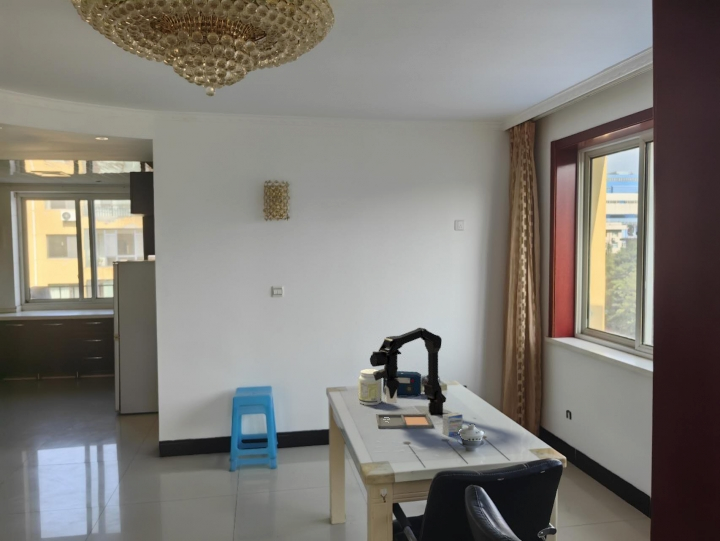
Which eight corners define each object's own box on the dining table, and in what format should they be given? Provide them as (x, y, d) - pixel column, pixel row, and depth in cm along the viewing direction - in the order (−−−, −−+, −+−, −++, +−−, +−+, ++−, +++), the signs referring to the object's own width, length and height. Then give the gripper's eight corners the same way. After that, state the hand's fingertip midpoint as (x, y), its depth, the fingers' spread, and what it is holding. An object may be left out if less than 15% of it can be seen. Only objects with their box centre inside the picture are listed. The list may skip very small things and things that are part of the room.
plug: (395, 400, 250) (395, 384, 249) (396, 403, 246) (396, 386, 245) (384, 400, 249) (384, 384, 249) (384, 403, 245) (384, 386, 245)
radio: (382, 395, 295) (383, 359, 294) (384, 391, 303) (384, 356, 303) (420, 397, 291) (420, 361, 290) (421, 392, 300) (421, 358, 299)
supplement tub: (367, 398, 289) (367, 367, 288) (385, 401, 282) (386, 370, 281) (354, 403, 279) (354, 371, 279) (373, 407, 272) (373, 375, 271)
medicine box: (448, 436, 230) (448, 417, 230) (442, 433, 234) (442, 414, 234) (462, 433, 234) (462, 414, 233) (456, 430, 238) (456, 411, 237)
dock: (427, 416, 257) (427, 413, 257) (433, 428, 240) (433, 425, 240) (375, 417, 256) (375, 414, 256) (378, 429, 239) (378, 425, 239)
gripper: (372, 360, 256) (372, 391, 256) (375, 368, 237) (375, 403, 238) (395, 360, 256) (395, 391, 257) (400, 368, 238) (399, 402, 238)
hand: (391, 397), depth 247 cm, fingers closed on plug, 4 cm apart
